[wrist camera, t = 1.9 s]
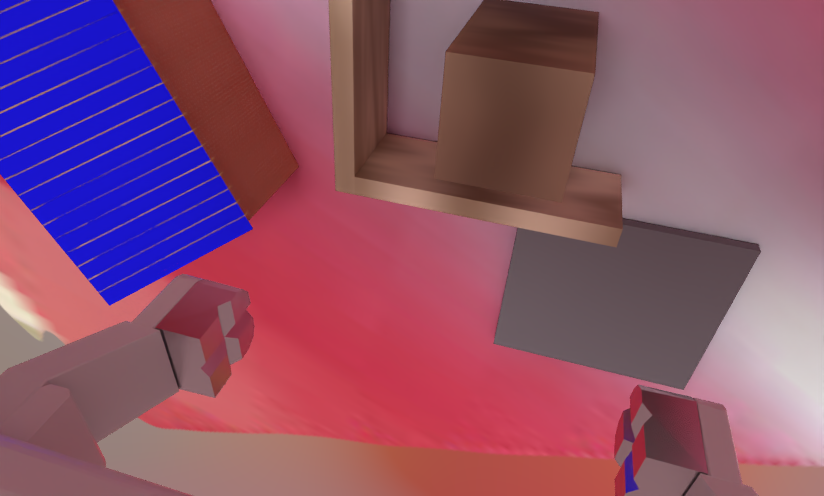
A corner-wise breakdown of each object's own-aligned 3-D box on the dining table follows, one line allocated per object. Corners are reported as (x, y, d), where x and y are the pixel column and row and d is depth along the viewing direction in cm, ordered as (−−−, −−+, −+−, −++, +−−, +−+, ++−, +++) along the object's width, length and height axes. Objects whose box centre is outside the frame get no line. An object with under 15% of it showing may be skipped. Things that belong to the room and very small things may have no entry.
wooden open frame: (701, -73, 21) (721, -52, 18) (615, 191, 29) (616, 247, 25) (370, -105, 24) (325, -92, 20) (369, 146, 31) (335, 190, 27)
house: (98, -229, 24) (-203, -265, 15) (307, 168, 34) (197, 291, 25) (-47, -111, 29) (-336, -85, 20) (169, 205, 39) (37, 317, 30)
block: (598, 12, 24) (595, 73, 18) (572, 118, 27) (561, 202, 21) (485, -3, 25) (445, 51, 19) (472, 102, 28) (434, 178, 22)
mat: (758, 244, 28) (760, 251, 28) (682, 382, 35) (683, 389, 35) (523, 199, 31) (522, 205, 30) (495, 337, 37) (493, 343, 37)
